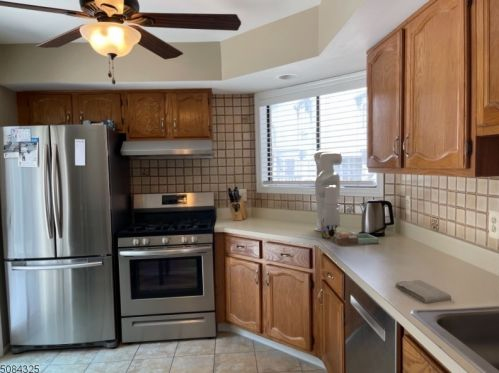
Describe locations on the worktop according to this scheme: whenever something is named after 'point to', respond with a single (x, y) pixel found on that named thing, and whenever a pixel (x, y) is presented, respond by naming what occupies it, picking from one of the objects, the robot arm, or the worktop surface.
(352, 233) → the grey tile
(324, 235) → the chalk box
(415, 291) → the washcloth
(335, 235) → the walnut board
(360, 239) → the box
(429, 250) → the worktop surface
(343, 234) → the terracotta block
